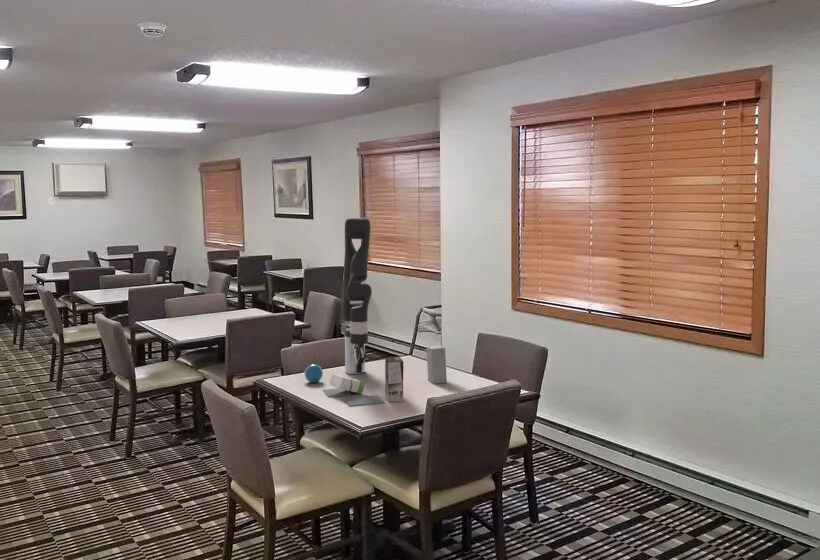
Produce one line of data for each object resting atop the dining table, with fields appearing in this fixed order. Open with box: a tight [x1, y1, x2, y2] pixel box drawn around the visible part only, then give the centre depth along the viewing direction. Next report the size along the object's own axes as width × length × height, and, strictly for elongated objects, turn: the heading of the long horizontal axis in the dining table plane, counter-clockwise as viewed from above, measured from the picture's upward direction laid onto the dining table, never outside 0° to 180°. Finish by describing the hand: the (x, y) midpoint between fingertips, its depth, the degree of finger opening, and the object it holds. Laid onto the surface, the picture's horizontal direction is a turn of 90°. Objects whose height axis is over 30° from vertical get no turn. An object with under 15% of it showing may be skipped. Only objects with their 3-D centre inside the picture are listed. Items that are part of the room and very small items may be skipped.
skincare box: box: [425, 344, 448, 385], centre depth 304 cm, size 8×7×16 cm
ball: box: [304, 364, 324, 384], centre depth 302 cm, size 8×8×8 cm
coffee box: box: [384, 356, 404, 402], centre depth 277 cm, size 9×6×16 cm
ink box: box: [328, 373, 366, 394], centre depth 284 cm, size 9×5×12 cm
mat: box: [322, 387, 386, 407], centre depth 280 cm, size 26×20×1 cm
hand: (359, 372), depth 288 cm, fingers closed
